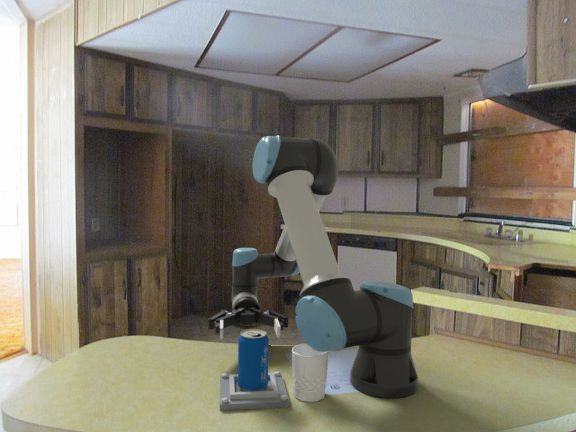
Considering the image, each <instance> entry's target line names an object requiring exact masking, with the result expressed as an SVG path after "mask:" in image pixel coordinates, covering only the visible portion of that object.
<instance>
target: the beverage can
mask: <svg viewBox="0 0 576 432" xmlns="http://www.w3.org/2000/svg"><path fill="white" fill-rule="evenodd" d="M267 334H268V333H267V331H265V330H263V329H260V328H259V329H258V328H249V329H244V330H241V332H240V335H239V337H238V339H237V341H238V343H237V353H238V354H237V374H238V386H239V387H240V388H241V389H242V390H243V391H246V392H254V391H262V390H263V389H264V388H265V387H267V385H268V373H269V343H270V342H269V336H268V335H267Z"/></svg>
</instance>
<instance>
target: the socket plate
mask: <svg viewBox="0 0 576 432" xmlns="http://www.w3.org/2000/svg"><path fill="white" fill-rule="evenodd" d="M219 382H220V383H219V385H220V386H219V387H220V388H219V411H236V410H255V409H257V410H258V409H259V410H260V409H277V408H279V409H280V408H290V398H289V395H288V391H287V389H286V385H285V381H284V378H283V375H282V373H281V371H274V372H268V385H267V387H265V388H264V389H263V390H262V391H254V392H246V391H243V390H242V389H241V388H240V387H239V386H238V373H235V374H229V373H222V374H221V375H220V380H219Z"/></svg>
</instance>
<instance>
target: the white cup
mask: <svg viewBox="0 0 576 432" xmlns="http://www.w3.org/2000/svg"><path fill="white" fill-rule="evenodd" d="M329 352H330V351H326V352H319V351H316V350H314V349H313V348H312V347H310V346H308V345H307V343H306V342H305V343H300V344H296V345H294V346H293V347H292V348H291V367H292V369H291V370H292V371H291V372H292V383H293V384H292V386H293V388H292V389H293V391H292V393H293V396H294V397H295V398H296V399H297V400H299V401H303V402H307V403H315V402H318V401H322V399H324V398H325V396H326V395H325V394H326V385H327V379H328V366H329Z"/></svg>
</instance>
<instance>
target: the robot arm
mask: <svg viewBox="0 0 576 432" xmlns="http://www.w3.org/2000/svg"><path fill="white" fill-rule="evenodd" d="M253 154H254V155H253V157H252V158H253V160H252V175H253V178H254V180H255V181H256V182H257V183H260V184H263V185H264V184H265V185H266V188H267V191H268V195H270V196H272V197H273V198H276V201H277V203H278V206H279V209H280V212H281V213H280V214H281V216H282V218H283V223H284V228H283V229H282V232H281V235H280V237H279V240H278V242H277V244H276V246H275V250H274V251H273V252H269V253H259V252H258V249H256V248H255V247H254V248H253V247H239V248H236V249H234V250H233V253H232V263H231V266H232V269H231V270H232V285H231V286H232V288H231V291H232V292H231V303H232V311H231V312H229V311H228V310H227V309H221V311H220V312H218V313H217V314H214V315H213V316H211V317H210V318H208V321H207V322H208V323H207V326H208V327H207V328H208V330H213V329H215V330H214V332H215V333H216V334H219V340H223V339H224V329H226V328H229V327H230V326H232V325H235V326H238V325H241V326H247V327H248V326H252V325H253V324H256V325H266V326H269V327H272V328H273V329H274V333H275V335H276V337H277V338H278V339H279V338H281V334H282V333H281V331H284V328H286V329H287V328H288V327H289V317H288V316H286V315H283V314H281V313H280V312H277V311H275V310H273V309H272V308H268V309H267V310H266V311H263V310H261V308H260V307H261V306H260V304H259V300H258V280H260V279H268V278H283V277H292V276H297V275H300V277H301V281H302V283H303V288H302V289H301V291H300V292H299V298H300V299H299V300H298V302H297V304H296V306H295V310H294V311H295V314H296V316H295V323H296V327H297V329H298V332H299V334H300V336H301V338H302V340H303V341H304V342H305V344H306V343H307V345H308V346H310V347H312V348H313V349H314V350H316V351H319V352H326V351H329V352H339V351H340V350H344V349H348V348H353V347H358V350H357V352H356V355H355V358H354V360H353V363H352V367H351V368H350V378H349V379H350V380H349V381H350V384H351V385H352V386H353V387H354V388H355V389H356V390H357V391H359V392H362V393H363V394H366V395H370V396H372V397H378V398H387V399H388V398H391V399H397V398H399V399H400V398H405V397H409V396H411V395H413V394H414V393H416V392H417V391H418V388H419V377H418V373H417V370H416V365H415V363H414V359H413V355H412V338H413V336H412V335H413V315H414V314H413V313H414V308H415V307H414V303H413V302H414V301H413V299H414V298H413V292H412V290H411V289H410V288H408V287H407V286H403V285H400V284H397V283H392V282H386V281H377V280H363V281H362V282H361V283H360V286H359V290H355V289H354V286H353V283H352V281H351V278H350V277H348V276H346V275H344V274H342V273H341V270H340V268H339V264H338V262H337V259H336V256H335V253H334V251H333V247H332V244H331V242H330V239H329V236H328V234H327V231H326V228H325V225H324V221H323V220H322V216H321V213H320V210H321V208H322V206H323V205H324V202H325V200H326V198H327V197H328V196H330V195H331V194H332V193H333V191H334V189H335V186H336V185H337V180H338V177H339V164H338V160H337V156H336V154H335V152H334V151H333V149H332V147H331V146H330V145H328V144H327V143H326V142H324V141H323V140H321V139H318V138H312V137H311V138H307V137H306V138H305V137H294V136H293V137H292V136H281V135H268V136H266V135H265V136H264V137H262V138H261V139H260V140H259V141H258V143H257V145H256V147H255V150H254V153H253Z"/></svg>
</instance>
